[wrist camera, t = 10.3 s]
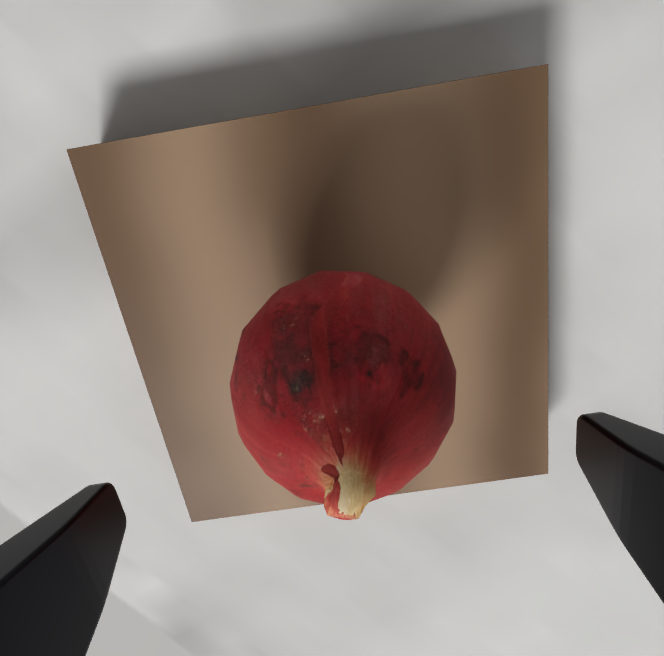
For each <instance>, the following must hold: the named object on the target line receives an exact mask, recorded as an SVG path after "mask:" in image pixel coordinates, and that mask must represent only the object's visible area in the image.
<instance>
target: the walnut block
mask: <svg viewBox="0 0 664 656" xmlns="http://www.w3.org/2000/svg"><path fill="white" fill-rule="evenodd" d="M67 152H68V155H69V158H70V161H71V164H72V167H73V170H74V173H75V176H76V179H77V182H78V185H79V188H80V191H81V194H82V197H83V200H84V203H85V206H86V209H87V212H88V215H89V218H90V221H91V224H92V227H93V230H94V233H95V236H96V239H97V242H98V245H99V247H100V250H101V253H102V256H103V259H104V262H105V265H106V268H107V271H108V274H109V277H110V280H111V283H112V286H113V289H114V292H115V295H116V298H117V301H118V304H119V307H120V310H121V313H122V316H123V319H124V322H125V325H126V328H127V331H128V334H129V337H130V340H131V343H132V346H133V349H134V351H135V354H136V357H137V360H138V363H139V366H140V369H141V372H142V375H143V378H144V381H145V384H146V387H147V390H148V393H149V396H150V399H151V402H152V405H153V408H154V411H155V414H156V417H157V420H158V423H159V426H160V429H161V432H162V435H163V438H164V441H165V444H166V447H167V450H168V453H169V455H170V458H171V461H172V464H173V467H174V470H175V473H176V476H177V479H178V482H179V485H180V488H181V491H182V494H183V497H184V500H185V503H186V506H187V509H188V512H189V515H190V518H191V521H192V522H195V521H202V520H210V519H217V518H224V517H232V516H239V515H247V514H254V513H261V512H269V511H276V510H283V509H291V508H298V507H305V506H313V505H320V504H322V503H317V502H313V501H309V500H304V499H301V498H299V497H297V496H295V495H294V494H292V493H291V492H290V491H288V490H287V489H286V488H284V487H283V486H281V485H280V484H278V483H277V482H275V481H274V480H273V479H271V478H270V477H269V476H267V475H266V474H265V473H264V471H263V470H262V468H261V467H260V466H259V464H258V463H257V462H256V460H255V459H254V458H253V456H252V455H251V454H250V452H249V451H248V450H247V448H246V447H245V446H244V444H243V442H242V440H241V438H240V436H239V434H238V430H237V425H236V420H235V415H234V410H233V405H232V400H231V391H230V379H231V375H232V370H233V366H234V362H235V357H236V353H237V348H238V344H239V341H240V337H241V333H242V330H243V329H244V327H245V326H246V325H247V324H248V323H249V322H250V320H251V319H252V318H253V317H254V316H255V315H256V313H257V312H258V311H259V310H260V309H261V308H262V306H263V305H264V304H265V303H266V302H267V301H268V299H269V298H270V297H271V296H272V295H273V294H274V293H275V292H276V291H277V290H278V289H279V288H282V287H284V286H286V285H289V284H291V283H293V282H295V281H298V280H300V279H302V278H305V277H307V276H309V275H311V274H314V273H316V272H318V271H321V270H322V271H351V272H367V273H369V274H371V275H373V276H376V277H378V278H380V279H382V280H385V281H387V282H389V283H392V284H394V285H396V286H398V287H401V288H403V289H404V290H406V291H407V292H408V293H410V294H411V295H412V296H413V297H414V298H415V299H416V300H417V301H418V302H419V303H420V304H421V306H422V307H423V308H424V309H425V310H426V311H427V312H428V313H429V314H430V315H431V316H432V317H433V318H434V319H435V320H436V322H437V323H438V324H439V326H440V329H441V331H442V334H443V336H444V339H445V341H446V343H447V346H448V348H449V351H450V353H451V356H452V359H453V362H454V365H455V368H456V371H457V372H456V394H455V412H454V421H453V424H452V426H451V427H450V429H449V431H448V433H447V435H446V437H445V438H444V440H443V442H442V444H441V446H440V447H439V449H438V451H437V453H436V455H435V457H434V458H433V459H432V461H431V462H430V463H429V465H428V466H427V467H426V468H424V469H423V470H422V471H421V472H420V473H419V474H418V475H416V476H415V477H414V478H413V479H412V480H411V481H410V482H408V483H407V484H406V485H405V486H404V487H403V488H402V489H400V490H399V491H397V492H395V493H392V494H390V495H394V494H401V493H408V492H416V491H423V490H430V489H438V488H445V487H452V486H460V485H467V484H474V483H482V482H489V481H496V480H504V479H511V478H518V477H526V476H533V475H541V474H548V64H546V65H540V66H534V67H529V68H523V69H517V70H512V71H506V72H500V73H495V74H489V75H484V76H478V77H472V78H467V79H461V80H455V81H450V82H444V83H438V84H433V85H427V86H422V87H416V88H410V89H405V90H399V91H393V92H388V93H382V94H376V95H371V96H365V97H359V98H354V99H348V100H343V101H337V102H331V103H326V104H320V105H314V106H309V107H303V108H297V109H292V110H286V111H281V112H275V113H269V114H264V115H258V116H252V117H247V118H241V119H235V120H230V121H224V122H219V123H213V124H207V125H202V126H196V127H190V128H185V129H179V130H173V131H168V132H162V133H157V134H151V135H145V136H140V137H134V138H128V139H123V140H117V141H111V142H106V143H100V144H94V145H89V146H83V147H78V148H72V149H67Z"/></svg>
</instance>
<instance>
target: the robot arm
mask: <svg viewBox="0 0 664 656" xmlns="http://www.w3.org/2000/svg"><path fill="white" fill-rule="evenodd" d="M576 456H577V460H578V463H579V465H580V467H581V469H582V471H583V473H584V474H585V476H586V478H587V480H588V482H589V484H590V486H591V487H592V489H593V491H594V493H595V495H596V497H597V499H598V500H599V502H600V504H601V506H602V508H603V510H604V511H605V513H606V515H607V517H608V519H609V521H610V523H611V524H612V526H613V528H614V530H615V531H616V533H617V535H618V537H619V538H620V540H621V541H622V543H623V544H624V546H625V547H626V549H627V550H628V552H629V553H630V555H631V556H632V558H633V559H634V561H635V562H636V564H637V565H638V567H639V568H640V569H641V571H642V572H643V574H644V575H645V577H646V578H647V580H648V581H649V583H650V584H651V585H652V587H653V588H654V590H655V591H656V593H657V594H658V596H659V597H660V599H661V600H662V602H663V603H664V434H661V433H658V432H656V431H653V430H650V429H647V428H645V427H642V426H639V425H636V424H634V423H631V422H628V421H625V420H623V419H620V418H617V417H614V416H612V415H609V414H606V413H603V412H597V413H590V414H583V415H581V416H580V417H579V418H578V420H577V434H576ZM125 529H126V516H125V513H124V510H123V508H122V505H121V502H120V500H119V497H118V495H117V492H116V490H115V488H114V486H113V485H112V484H110V483H101V484H94V485H89V486H87V487H85V488H84V489H83V490H81V491H80V492H78V493H77V494H75V495H74V496H72V497H71V498H69V499H68V500H66V501H65V502H63V503H62V504H60V505H59V506H57V507H56V508H54V509H53V510H52V511H50V512H49V513H47V514H46V515H44V516H43V517H41V518H40V519H38V520H37V521H35V522H34V523H32V524H31V525H29V526H28V527H26V528H25V529H24V530H22V531H21V532H19V533H18V534H16V535H15V536H13V537H12V538H10V539H9V540H7V541H6V542H4V543H3V544H1V545H0V656H85V655H86V653H87V650H88V648H89V645H90V642H91V640H92V637H93V635H94V632H95V629H96V627H97V624H98V621H99V619H100V616H101V613H102V610H103V607H104V604H105V601H106V598H107V595H108V591H109V588H110V584H111V580H112V577H113V573H114V569H115V566H116V562H117V558H118V555H119V551H120V547H121V544H122V540H123V536H124V533H125Z"/></svg>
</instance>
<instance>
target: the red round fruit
mask: <svg viewBox="0 0 664 656" xmlns="http://www.w3.org/2000/svg"><path fill="white" fill-rule="evenodd" d="M456 372H457V371H456V368H455V365H454V362H453V359H452V356H451V353H450V351H449V348H448V346H447V343H446V341H445V339H444V336H443V334H442V331H441V329H440V326H439V324H438V323H437V322H436V320H435V319H434V318H433V317H432V316H431V315H430V314H429V313H428V312H427V311H426V310H425V309H424V308H423V307H422V306H421V304H420V303H419V302H418V301H417V300H416V299H415V298H414V297H413V296H412V295H411V294H410V293H408V292H407V291H406V290H404V289H403V288H401V287H398V286H396V285H394V284H392V283H389V282H387V281H385V280H382V279H380V278H378V277H376V276H373V275H371V274H369V273H367V272H351V271H322V270H321V271H318V272H316V273H314V274H311V275H309V276H307V277H305V278H302V279H300V280H298V281H295V282H293V283H291V284H289V285H286V286H284V287H282V288H279V289H278V290H277V291H276V292H275V293H274V294H273V295H272V296H271V297H270V298H269V299H268V301H267V302H266V303H265V304H264V305H263V306H262V308H261V309H260V310H259V311H258V312H257V313H256V315H255V316H254V317H253V318H252V319H251V320H250V322H249V323H248V324H247V325H246V326H245V327H244V329H243V330H242V333H241V337H240V341H239V344H238V348H237V353H236V357H235V362H234V366H233V370H232V375H231V379H230V391H231V400H232V405H233V410H234V415H235V420H236V425H237V430H238V434H239V436H240V438H241V440H242V442H243V444H244V446H245V447H246V448H247V450H248V451H249V452H250V454H251V455H252V456H253V458H254V459H255V460H256V462H257V463H258V464H259V466H260V467H261V468H262V470H263V471H264V473H265V474H266V475H267V476H269V477H270V478H271V479H273V480H274V481H275V482H277V483H278V484H280V485H281V486H283V487H284V488H286V489H287V490H288V491H290V492H291V493H292V494H294V495H295V496H297V497H299V498H301V499H304V500H309V501H313V502H317V503H322V504H324V507H325V510H326V513H327V515H328V516H331V517H335V518H338V519H343V520H352V519H358V518H359V516H360V515H361V513H362V511H363V509H364V507H365V506H366V505H367V504H368V503H369V502H371V501H373V500H376V499H379V498H382V497H384V496H387V495H390V494H392V493H395V492H397V491H399V490H400V489H402V488H403V487H404V486H405V485H406V484H407V483H408V482H410V481H411V480H412V479H413V478H414V477H415V476H416V475H418V474H419V473H420V472H421V471H422V470H423V469H424V468H426V467H427V466H428V465H429V463H430V462H431V461H432V459H433V458H434V457H435V455H436V453H437V451H438V449H439V447H440V446H441V444H442V442H443V440H444V438H445V437H446V435H447V433H448V431H449V429H450V427H451V426H452V424H453V421H454V412H455V394H456Z"/></svg>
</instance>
